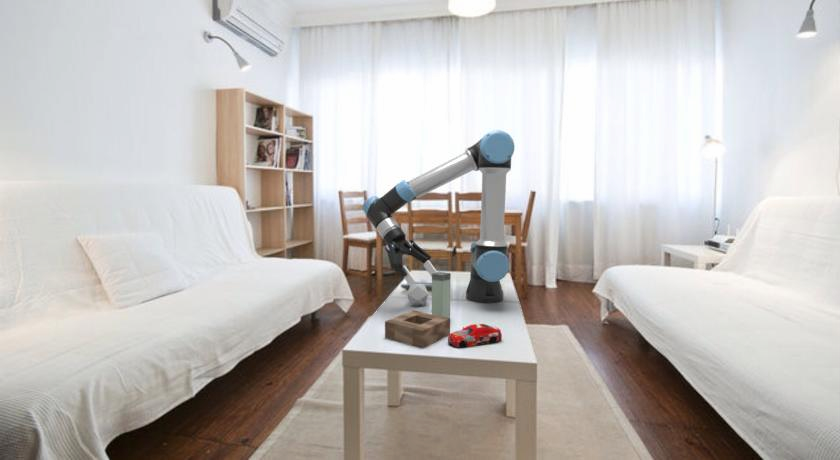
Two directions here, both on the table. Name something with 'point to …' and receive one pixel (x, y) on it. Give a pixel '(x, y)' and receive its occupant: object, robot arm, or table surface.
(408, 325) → the collar block
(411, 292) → the die
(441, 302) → the pin
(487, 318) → the table surface
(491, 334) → the race car
